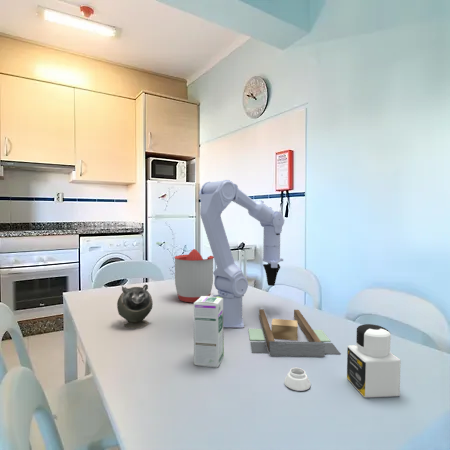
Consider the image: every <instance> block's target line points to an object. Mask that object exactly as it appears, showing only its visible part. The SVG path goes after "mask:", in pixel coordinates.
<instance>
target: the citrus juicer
mask: <svg viewBox="0 0 450 450" xmlns="http://www.w3.org/2000/svg"><path fill="white" fill-rule="evenodd" d="M213 284H214V256H213V255H210V256H207V258H204V259H203V256H202V255H201V253H200V252H199V251H198V250H197V249H195V248H193V249H192V250H191V251H190V252H189V253H188V254H179V255H175V256H174V285H175V290H176V293H177V296H178V299H179V301H180V302H186V303H193V304H194V302H195V301H196V300H198V299H199V298H200V297H201V296H211V293H212V289H213V286H214V285H213Z"/></svg>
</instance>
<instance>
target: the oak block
mask: <svg viewBox="0 0 450 450" xmlns="http://www.w3.org/2000/svg"><path fill="white" fill-rule="evenodd" d="M270 329H271V331H272V334H273V337H274V340H285V341H287V340H288V341H295V342H298V333H299V330H298V329H299V325H298V323H297V320H295V319H283V318H272V320H271V327H270Z"/></svg>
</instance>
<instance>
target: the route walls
mask: <svg viewBox="0 0 450 450" xmlns="http://www.w3.org/2000/svg"><path fill="white" fill-rule="evenodd" d="M258 312H259V313H258V318H259V320H260V324H261V329H262V331H263V334H264V338H265V342H266V345H267V349H268V351H269V341H276V339H274V337H273V334H272V331H271V327H270V324H269V323H270V322H269V320H268V317H267V315H266V313H265V310H264V309H263V308H262V309H261V308H259V309H258ZM293 318H294V320H297V324H298V327H299V328H300V330H301V332H302V333H303V334H304V336H305V338H306V340H307V342H321V341H320V339H319V338H318V336H317V335H316V334H315V332H314V331H313V330H314V329H313V328H312V326H311V325H310V323H309V322H308V321H307V320H306V318H305V317H304V315H303V314H302V312H301V311H300V309H294V310H293Z"/></svg>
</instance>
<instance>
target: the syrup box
mask: <svg viewBox="0 0 450 450" xmlns="http://www.w3.org/2000/svg"><path fill="white" fill-rule="evenodd" d="M224 336H225V335H224V327H223V297H217V296H213V295H210V296H201V297H200V298H199V299H198V300H196V301H195V302H194V303H193V364H194V365H195V366H199V367H207V368H219V367H220V364H221V363H222V361H223V359H224V353H225V352H224V350H225V349H224V348H225V347H224V338H225V337H224Z"/></svg>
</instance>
